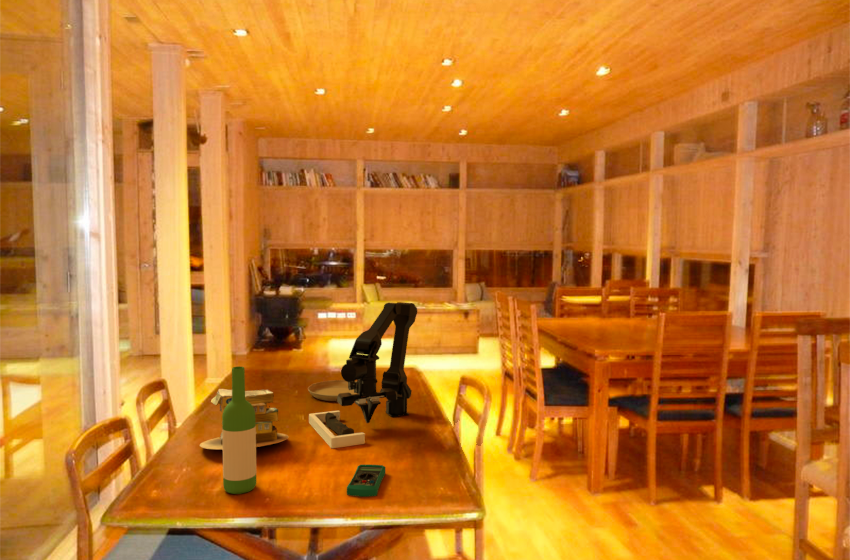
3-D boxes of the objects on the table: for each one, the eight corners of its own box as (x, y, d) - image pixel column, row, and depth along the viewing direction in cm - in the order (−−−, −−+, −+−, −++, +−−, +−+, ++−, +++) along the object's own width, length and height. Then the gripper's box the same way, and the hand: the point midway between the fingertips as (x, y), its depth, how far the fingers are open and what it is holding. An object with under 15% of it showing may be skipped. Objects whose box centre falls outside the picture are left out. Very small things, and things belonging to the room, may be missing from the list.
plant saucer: (380, 397, 232) (380, 389, 232) (323, 406, 219) (323, 397, 219) (352, 385, 252) (352, 377, 252) (298, 393, 239) (298, 384, 239)
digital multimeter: (345, 498, 142) (345, 485, 142) (358, 473, 157) (358, 462, 156) (376, 499, 141) (376, 487, 141) (385, 474, 156) (385, 463, 156)
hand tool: (354, 440, 182) (354, 425, 182) (342, 442, 180) (342, 427, 180) (334, 423, 199) (334, 410, 199) (322, 425, 197) (322, 411, 197)
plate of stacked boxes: (205, 436, 185) (204, 383, 184) (287, 430, 191) (286, 379, 190) (195, 465, 161) (193, 404, 160) (289, 457, 167) (288, 399, 166)
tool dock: (338, 419, 203) (338, 410, 203) (364, 443, 179) (364, 433, 178) (308, 422, 199) (308, 413, 199) (331, 448, 174) (331, 438, 174)
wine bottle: (218, 495, 142) (216, 370, 140) (229, 482, 150) (227, 364, 148) (251, 495, 142) (249, 371, 140) (260, 482, 150) (258, 364, 148)
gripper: (385, 367, 203) (386, 412, 204) (332, 372, 196) (332, 419, 197) (397, 374, 193) (397, 421, 194) (341, 380, 185) (342, 429, 187)
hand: (367, 422), depth 193 cm, fingers closed
